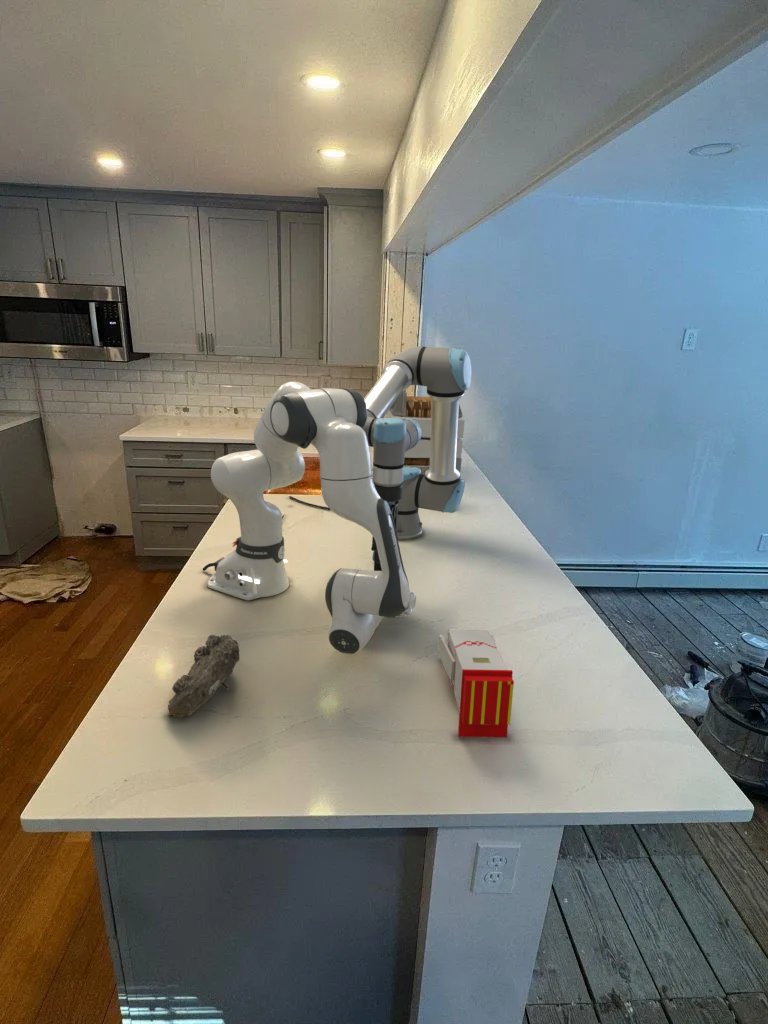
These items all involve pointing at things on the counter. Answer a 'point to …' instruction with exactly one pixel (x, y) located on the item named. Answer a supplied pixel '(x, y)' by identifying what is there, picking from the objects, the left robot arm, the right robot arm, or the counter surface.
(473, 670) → the toy
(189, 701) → the fossil
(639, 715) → the counter surface
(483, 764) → the counter surface
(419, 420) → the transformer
